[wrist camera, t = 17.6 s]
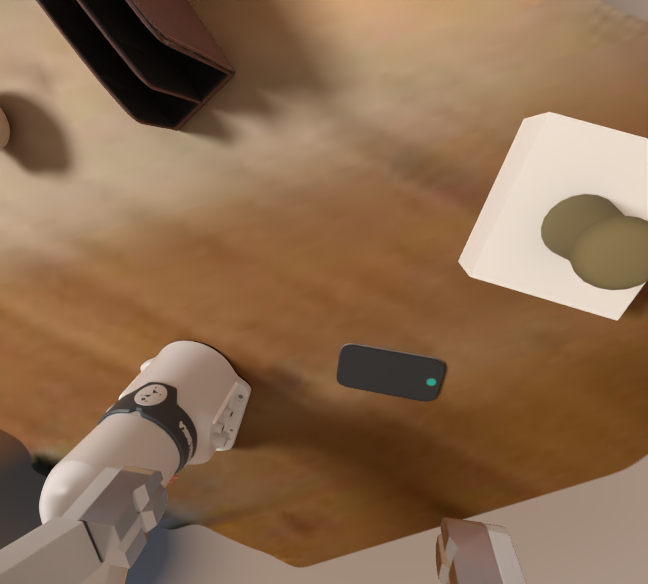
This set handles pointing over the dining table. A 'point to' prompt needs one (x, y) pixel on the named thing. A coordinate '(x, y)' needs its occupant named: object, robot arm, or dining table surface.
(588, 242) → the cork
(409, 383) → the smartphone
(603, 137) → the white block
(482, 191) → the dining table surface
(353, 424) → the dining table surface
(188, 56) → the letter holder
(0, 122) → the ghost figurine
